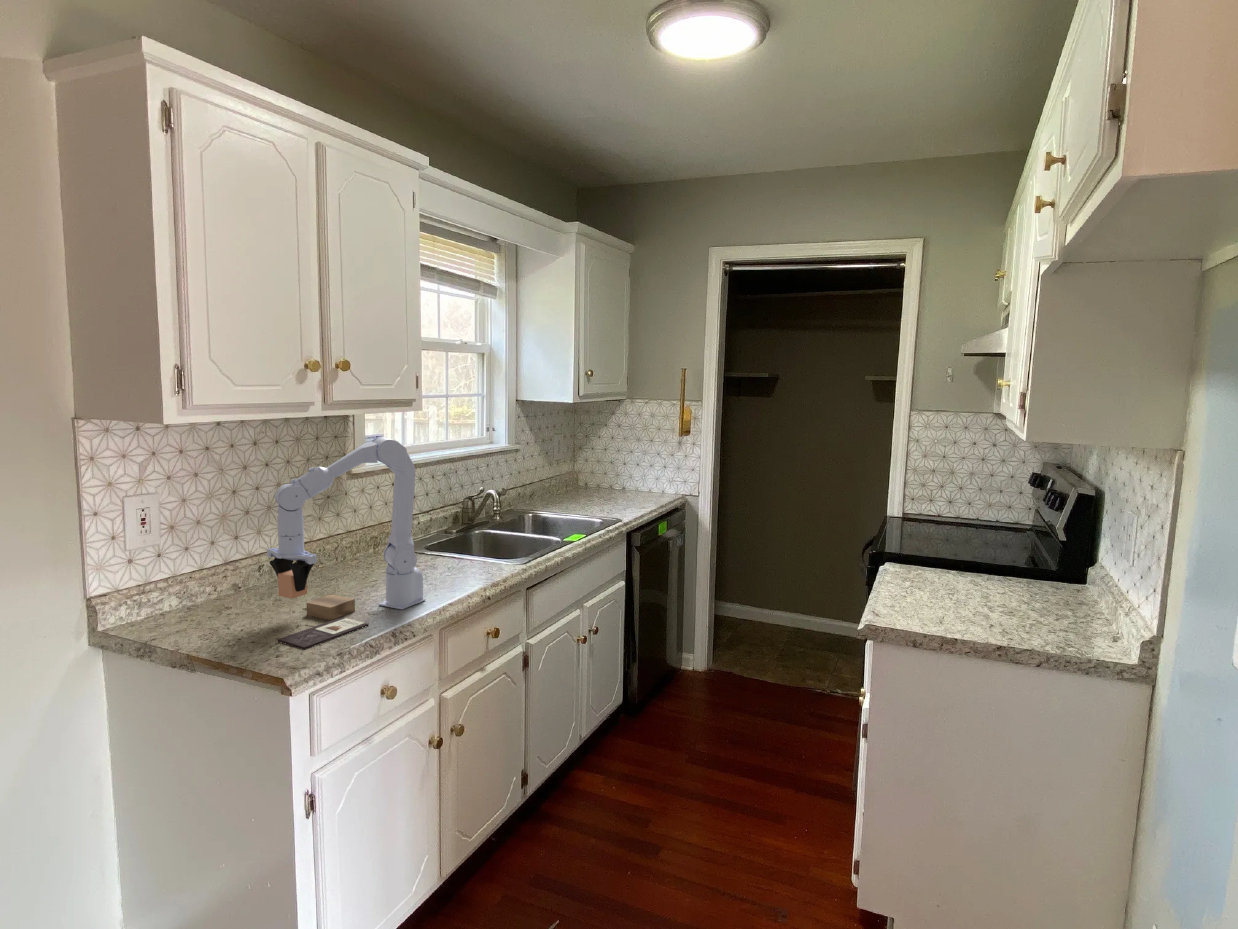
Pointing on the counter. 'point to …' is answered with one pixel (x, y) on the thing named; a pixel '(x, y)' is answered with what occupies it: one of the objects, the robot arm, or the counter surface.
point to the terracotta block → (288, 585)
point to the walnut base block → (330, 607)
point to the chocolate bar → (322, 633)
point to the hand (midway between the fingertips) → (292, 589)
